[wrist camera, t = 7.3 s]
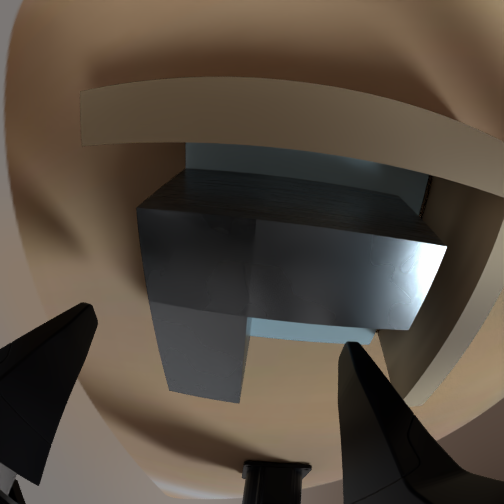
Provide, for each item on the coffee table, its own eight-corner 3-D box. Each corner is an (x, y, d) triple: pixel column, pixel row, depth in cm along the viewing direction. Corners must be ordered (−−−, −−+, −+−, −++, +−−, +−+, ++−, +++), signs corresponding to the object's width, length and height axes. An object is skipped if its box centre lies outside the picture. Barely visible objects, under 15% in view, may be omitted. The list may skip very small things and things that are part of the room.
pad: (368, 341, 12) (369, 344, 12) (195, 324, 13) (194, 327, 12) (427, 169, 8) (430, 171, 8) (187, 138, 9) (185, 139, 8)
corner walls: (400, 334, 12) (421, 405, 8) (171, 312, 12) (138, 383, 9) (468, 134, 7) (545, 165, 4) (157, 89, 8) (80, 91, 4)
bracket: (185, 168, 9) (136, 207, 6) (398, 195, 8) (446, 246, 5) (192, 327, 12) (169, 390, 9) (347, 344, 12) (357, 410, 9)
